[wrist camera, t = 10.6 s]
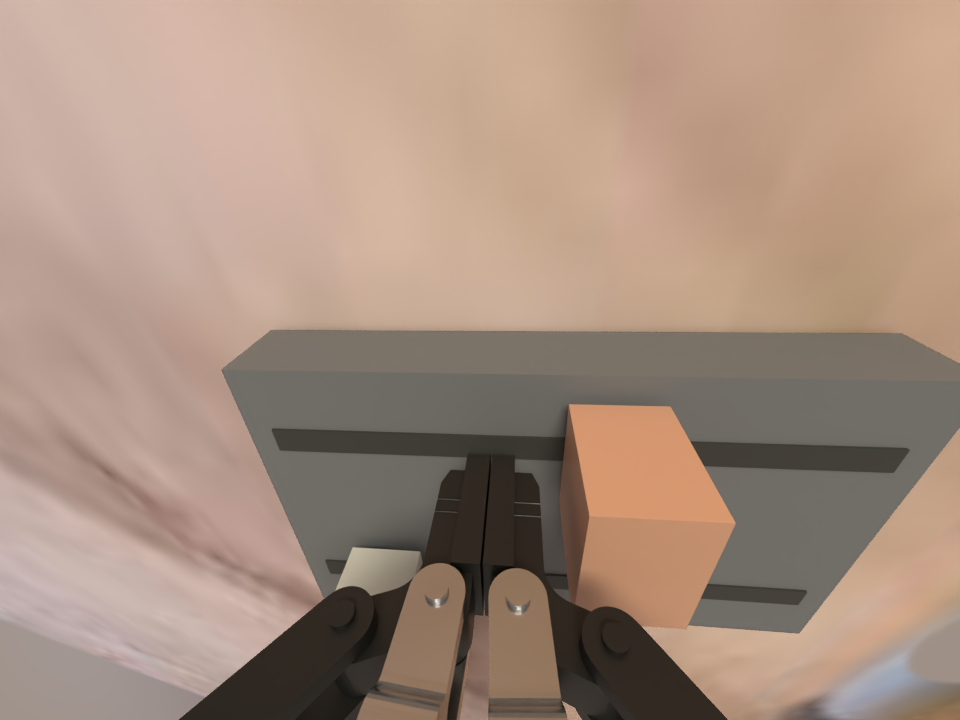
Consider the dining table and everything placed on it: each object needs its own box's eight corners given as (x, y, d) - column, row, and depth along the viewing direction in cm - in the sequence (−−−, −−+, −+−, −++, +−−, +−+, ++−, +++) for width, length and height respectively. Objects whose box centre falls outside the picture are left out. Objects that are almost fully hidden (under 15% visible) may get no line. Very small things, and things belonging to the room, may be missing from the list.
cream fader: (420, 551, 16) (394, 662, 13) (430, 606, 18) (410, 713, 15) (352, 547, 17) (309, 655, 13) (371, 601, 19) (338, 706, 15)
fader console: (901, 333, 13) (999, 384, 10) (763, 569, 20) (800, 635, 18) (271, 330, 15) (218, 371, 13) (346, 544, 22) (323, 600, 20)
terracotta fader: (670, 406, 11) (736, 523, 8) (643, 504, 14) (686, 629, 10) (568, 404, 12) (589, 516, 8) (559, 500, 14) (572, 620, 10)
